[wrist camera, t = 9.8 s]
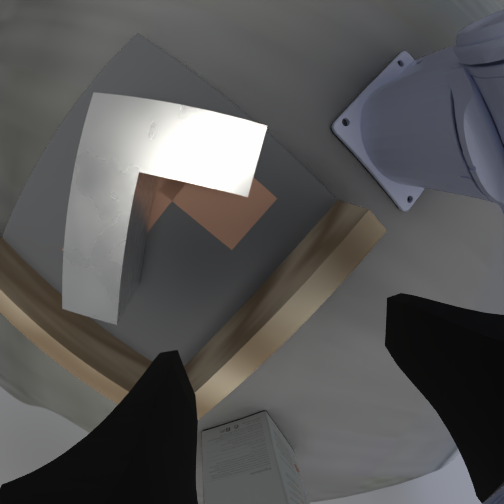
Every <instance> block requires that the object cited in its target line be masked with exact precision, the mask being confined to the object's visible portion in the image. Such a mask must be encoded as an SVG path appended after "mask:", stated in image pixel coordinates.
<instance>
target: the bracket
mask: <svg viewBox="0 0 504 504" xmlns="http://www.w3.org/2000/svg"><path fill="white" fill-rule="evenodd" d="M266 129H267V126H266V125H263V124H259V123H256V122H252V121H249V120H245V119H241V118H237V117H233V116H229V115H225V114H221V113H217V112H213V111H209V110H204V109H200V108H195V107H190V106H185V105H180V104H175V103H169V102H164V101H158V100H152V99H145V98H139V97H131V96H124V95H115V94H106V93H96V92H94V93H93V96H92V99H91V102H90V105H89V109H88V112H87V116H86V119H85V123H84V127H83V131H82V135H81V139H80V143H79V147H78V152H77V157H76V161H75V166H74V172H73V177H72V183H71V189H70V196H69V203H68V210H67V218H66V228H65V239H64V252H63V274H62V309H65V310H68V311H71V312H74V313H77V314H81V315H84V316H87V317H91V318H94V319H98V320H101V321H105V322H108V323H112V324H116V325H117V324H118V322H119V320H120V318H121V316H122V315H123V313H124V311H125V309H126V307H127V306H128V304H129V302H130V300H131V298H132V297H133V295H134V293H135V291H136V290H137V288H138V286H139V284H140V276H141V269H142V263H143V257H144V250H145V244H146V239H147V233H148V228H149V222H150V217H151V212H152V207H153V202H154V198H155V193H156V189H157V184H158V180H159V176H160V177H164V178H169V179H174V180H178V181H183V182H187V183H191V184H196V185H200V186H204V187H209V188H213V189H217V190H221V191H225V192H229V193H233V194H237V195H241V196H245V197H248V194H249V191H250V187H251V183H252V180H253V176H254V172H255V169H256V165H257V162H258V158H259V154H260V151H261V147H262V144H263V140H264V137H265V133H266Z"/></svg>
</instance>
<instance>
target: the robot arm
mask: <svg viewBox="0 0 504 504" xmlns="http://www.w3.org/2000/svg"><path fill="white" fill-rule="evenodd" d="M398 62H399V63H400V65H401V66H399V64H398ZM343 119H345V120H346V122H347V125H346V126H344V125H343V124H342V120H343ZM332 131H333V132H334V134H335V135H336V136H337V137H338V138H339V139H340V140H341V141H342V142H343V143H344V144H345V145H346V146H347V147H348V149H349V150H350V151H351V152H352V153H353V154H354V155H355V156H356V157H357V158H358V160H359V161H360V162H361V163H362V164H363V165H364V166H365V168H366V169H367V170H368V171H369V172H370V173H371V174H372V176H373V177H374V178H375V179H376V180H377V182H378V183H379V184H380V185H381V186H382V188H383V189H384V190H385V191H386V193H387V194H388V195H389V196H390V198H391V199H392V200H393V201H394V203H395V204H396V205H397V206H398V208H399V209H400V210H402V211H408V210H409V209H410V208H411V206H412V205H413V204H414V203H415V201H416V200H417V199H418V197H419V196H420V195H421V193H422V192H423V190H424V189H425V188H427V189H433V190H439V191H444V192H449V193H454V194H459V195H464V196H469V197H474V198H478V199H483V200H487V201H492V202H495V203H497V204H498V205H499V206H500V207H501V209H502V211H503V213H504V10H502V11H499V12H496V13H494V14H491V15H489V16H487V17H484V18H482V19H480V20H478V21H476V22H474V23H472V24H470V25H468V26H466V27H464V28H463V29H461V30H460V31H459V32H458V33H457V37H456V44H455V45H453V46H450V47H447V48H445V49H442V50H439V51H437V52H434V53H431V54H429V55H426V56H424V57H421V58H419V59H416V60H414V59H413V58H412V56H411V55H410V54H409V53H408V52H406V51H403V52H401V53H399V54H398V55H397V56H396V57H395V58H394V59H393V60H392V61H391V62H390V63H389V65H388V66H387V67H386V68H385V69H384V70H383V71H382V72H381V73H380V74H379V75H378V76H377V77H376V78H375V79H374V80H373V81H372V82H371V83H370V84H369V85H368V86H367V87H366V88H365V89H364V90H363V91H362V92H361V93H360V95H359V96H358V97H357V98H356V99H355V100H354V101H353V102H352V103H351V104H350V105H349V106H348V107H347V108H346V109H345V110H344V111H343V112H342V114H341V115H340V116H339V117H338V118H337V119H336V120H335V121H334V122H333V124H332ZM408 196H409V197H410V200H409V201H407V198H408ZM385 346H386V348H387V349H388V351H389V353H390V354H391V356H392V357H393V359H394V361H395V362H396V364H397V365H398V366H399V368H400V369H401V370H402V371H403V372H404V373H405V375H406V376H407V377H408V378H409V379H410V380H411V382H412V383H413V384H414V385H415V386H416V387H417V388H418V390H419V391H420V392H421V393H422V394H423V395H424V397H425V398H426V399H427V400H428V401H429V402H430V404H431V405H432V406H433V408H434V409H435V410H436V411H437V413H438V414H439V416H440V418H441V419H442V421H443V422H444V424H445V426H446V427H447V429H448V431H449V432H450V434H451V436H452V438H453V440H454V441H455V443H456V445H457V447H458V449H459V451H460V453H461V455H462V457H463V460H464V462H465V464H466V466H467V469H468V472H469V474H470V477H471V480H472V482H473V486H474V489H475V492H476V496H477V497H478V499H479V500H480V501H481V503H482V504H504V315H499V314H490V313H484V312H479V311H474V310H469V309H464V308H460V307H456V306H452V305H448V304H444V303H441V302H437V301H433V300H429V299H426V298H422V297H418V296H413V295H409V294H402V293H400V294H397V295H395V296H392V297H389V298H387V317H386V337H385ZM197 423H198V419H197V407H196V396H195V393H194V390H193V388H192V386H191V383H190V381H189V378H188V376H187V373H186V371H185V368H184V366H183V363H182V360H181V358H180V355H179V352H178V350H173V351H167V352H161V353H159V354H158V355H157V357H156V358H155V359H154V360H153V362H152V363H151V364H150V366H149V367H148V368H147V370H146V371H145V372H144V374H143V375H142V376H141V378H140V379H139V380H138V381H137V383H136V384H135V385H134V386H133V388H132V389H131V390H130V392H129V393H128V394H127V395H126V396H125V397H124V398H123V400H122V401H121V402H120V403H119V404H118V405H117V407H116V408H115V409H114V410H113V411H112V412H111V413H110V414H109V415H108V416H107V417H106V418H105V419H104V420H103V421H102V422H101V423H100V424H99V425H98V426H97V427H96V428H95V429H94V430H93V431H92V432H91V433H89V434H88V435H87V436H86V437H85V438H83V439H82V440H81V441H80V442H78V443H77V444H76V445H74V446H73V447H72V448H70V449H69V450H68V451H66V452H65V453H64V454H62V455H61V456H59V457H58V458H56V459H55V460H53V461H51V462H50V463H48V464H46V465H44V466H43V467H41V468H39V469H37V470H35V471H34V472H31V473H29V474H27V475H25V476H22V477H20V478H18V479H15V480H13V481H10V482H8V483H5V484H2V486H1V488H0V504H198V501H197V492H196V448H197ZM501 487H502V488H501ZM494 493H495V494H494ZM488 498H489V499H488ZM483 502H484V503H483Z"/></svg>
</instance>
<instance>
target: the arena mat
mask: <svg viewBox="0 0 504 504" xmlns="http://www.w3.org/2000/svg"><path fill="white" fill-rule="evenodd" d="M94 92H96V93H106V94H115V95H124V96H131V97H139V98H145V99H152V100H158V101H164V102H169V103H175V104H180V105H185V106H190V107H195V108H200V109H204V110H209V111H213V112H217V113H221V114H225V115H229V116H233V117H237V118H241V119H245V120H249V121H252V122H255V121H254V120H253V119H252V118H251V117H249V116H248V115H247V114H246V113H245V112H244V111H242V110H241V109H240V108H239V107H238V106H236V105H235V104H234V103H233V102H231V101H230V100H229V99H228V98H227V97H225V96H224V95H223V94H222V93H220V92H219V91H218V90H217V89H215V88H214V87H213V86H211V85H210V84H209V83H208V82H206V81H205V80H204V79H202V78H201V77H200V76H198V75H197V74H196V73H194V72H193V71H192V70H190V69H189V68H188V67H186V66H185V65H184V64H182V63H181V62H180V61H178V60H177V59H175V58H174V57H173V56H171V55H170V54H168V53H167V52H165V51H164V50H162V49H161V48H160V47H158V46H157V45H155V44H154V43H152V42H151V41H149V40H148V39H146V38H145V37H143V36H141V35H140V34H138V33H137V34H136V35H135V36H134V37H133V38H132V39H131V40H130V41H129V42H128V43H127V44H126V45H125V46H124V47H123V48H122V49H121V50H120V51H119V52H118V53H117V54H116V55H115V56H114V57H113V58H112V59H111V61H110V62H109V63H108V64H107V65H106V66H105V67H104V68H103V70H102V71H101V72H100V73H99V74H98V75H97V77H96V78H95V79H94V80H93V81H92V83H91V84H90V85H89V86H88V88H87V89H86V90H85V91H84V93H83V94H82V95H81V97H80V98H79V99H78V101H77V102H76V103H75V105H74V106H73V107H72V109H71V110H70V111H69V113H68V114H67V116H66V117H65V119H64V120H63V121H62V123H61V124H60V126H59V127H58V129H57V130H56V132H55V133H54V135H53V137H52V138H51V140H50V141H49V143H48V145H47V146H46V148H45V150H44V151H43V153H42V155H41V156H40V158H39V160H38V162H37V163H36V165H35V167H34V169H33V171H32V172H31V174H30V176H29V178H28V180H27V182H26V184H25V186H24V188H23V190H22V192H21V194H20V196H19V198H18V200H17V202H16V205H15V207H14V209H13V211H12V214H11V216H10V218H9V221H8V223H7V225H6V228H5V230H4V233H3V235H2V238H3V239H4V240H5V241H6V242H7V243H8V244H9V245H10V246H11V247H12V248H13V249H14V250H15V251H16V252H17V253H18V254H19V255H20V256H21V257H22V258H23V259H24V260H25V261H26V262H27V263H28V264H29V265H30V266H31V267H32V268H33V269H34V270H35V271H36V272H37V273H38V274H39V275H40V276H41V277H42V278H43V279H44V280H46V281H47V282H48V283H49V284H50V285H51V286H52V287H53V288H54V289H56V290H57V291H58V292H59V293H60V294H61V295H62V274H63V252H64V239H65V228H66V218H67V210H68V203H69V196H70V189H71V183H72V177H73V172H74V166H75V161H76V157H77V152H78V147H79V143H80V139H81V135H82V131H83V127H84V123H85V119H86V116H87V112H88V109H89V105H90V102H91V99H92V96H93V93H94ZM336 201H337V199H336V198H335V197H334V196H333V195H332V194H331V193H330V192H329V191H328V190H327V189H326V187H325V186H324V185H323V184H322V183H321V182H320V181H319V180H318V179H317V178H316V177H315V176H314V175H313V174H312V173H310V172H309V171H308V170H307V169H306V168H305V167H304V166H303V165H302V164H301V163H300V162H299V161H298V160H297V159H296V158H295V157H294V156H293V155H292V154H291V153H290V152H289V151H287V150H286V149H285V148H284V147H283V146H282V145H281V144H280V143H279V142H278V141H277V140H276V139H274V138H273V137H272V136H271V135H270V134H269V133H268V132H267V131H266V133H265V137H264V140H263V144H262V147H261V151H260V154H259V158H258V162H257V165H256V169H255V172H254V176H253V180H252V183H251V187H250V191H249V194H248V197H245V196H241V195H237V194H233V193H229V192H225V191H221V190H217V189H213V188H209V187H204V186H200V185H196V184H191V183H187V182H183V181H178V180H174V179H169V178H164V177H160V176H159V180H158V184H157V189H156V193H155V198H154V202H153V207H152V212H151V217H150V222H149V228H148V233H147V239H146V244H145V250H144V257H143V263H142V269H141V276H140V284H139V286H138V288H137V290H136V291H135V293H134V295H133V297H132V298H131V300H130V302H129V304H128V306H127V307H126V309H125V311H124V313H123V315H122V316H121V318H120V320H119V322H118V324H117V325H116V324H112V323H108V322H105V321H101V320H98V319H94V318H91V317H89V318H91V319H92V320H93V321H95V322H96V323H97V324H98V325H100V326H101V327H102V328H104V329H105V330H106V331H108V332H109V333H111V334H112V335H113V336H115V337H116V338H117V339H119V340H120V341H122V342H123V343H125V344H126V345H127V346H129V347H130V348H132V349H133V350H135V351H136V352H138V353H139V354H141V355H142V356H144V357H145V358H147V359H148V360H150V361H151V362H153V360H154V359H155V358H156V357H157V355H158V354H159V353H161V352H167V351H173V350H178V352H179V355H180V358H181V360H182V363H183V366H185V365H186V364H187V363H188V362H189V361H190V360H191V359H192V358H193V357H194V356H195V355H196V354H197V353H198V352H199V351H200V350H201V349H202V348H203V347H204V346H205V345H206V344H207V343H208V342H209V341H210V340H211V338H212V337H213V336H214V335H215V334H216V333H217V332H218V331H219V330H220V329H221V328H222V327H223V326H224V325H225V324H226V323H227V322H228V321H229V320H230V318H231V317H232V316H233V315H234V314H235V313H236V312H237V311H238V310H239V309H240V308H241V307H242V306H243V305H244V304H245V302H246V301H247V300H248V299H249V298H250V297H251V296H252V295H253V294H254V293H255V292H256V291H257V290H258V288H259V287H260V286H261V285H262V284H263V283H264V282H265V281H266V280H267V279H268V278H269V276H270V275H271V274H272V273H273V272H274V271H275V270H276V269H277V268H278V267H279V265H280V264H281V263H282V262H283V261H284V260H285V259H286V258H287V257H288V256H289V254H290V253H291V252H292V251H293V250H294V249H295V248H296V247H297V246H298V244H299V243H300V242H301V241H302V240H303V239H304V238H305V237H306V235H307V234H308V233H309V232H310V231H311V230H312V229H313V228H314V226H315V225H316V224H317V223H318V222H319V221H320V220H321V218H322V217H323V216H324V215H325V214H326V213H327V212H328V211H329V209H330V208H331V207H332V206H333V205H334V204H335V202H336Z"/></svg>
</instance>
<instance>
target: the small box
mask: <svg viewBox="0 0 504 504" xmlns="http://www.w3.org/2000/svg"><path fill="white" fill-rule="evenodd" d="M202 472H203V497H204V504H310V503H309V500H308V497H307V494H306V491H305V487H304V484H303V481H302V477H301V474H300V471H299V467H298V464H297V460H296V457H295V454H294V451H293V449H292V448H291V446H290V445H289V443H288V442H287V440H286V439H285V438H284V436H283V435H282V433H281V432H280V430H279V429H278V428H277V426H276V425H275V423H274V422H273V420H272V419H271V418H270V416H269V415H268V413H267V412H266V411H263V412H260V413H258V414H255V415H252V416H249V417H246V418H243V419H240V420H237V421H234V422H231V423H228V424H225V425H222V426H219V427H216V428H212V429H209V430H206V431H203V432H202Z"/></svg>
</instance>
